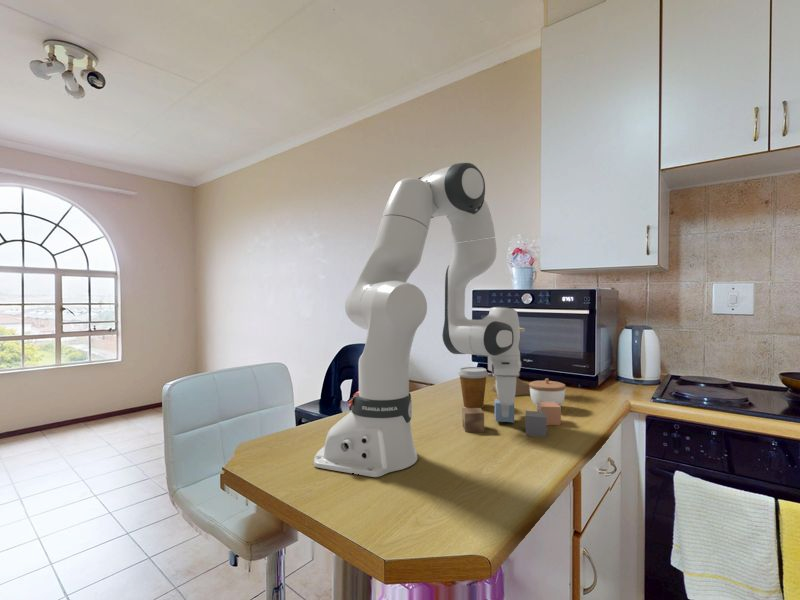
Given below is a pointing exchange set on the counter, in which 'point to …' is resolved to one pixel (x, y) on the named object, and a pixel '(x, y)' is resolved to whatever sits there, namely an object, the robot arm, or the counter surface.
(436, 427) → the counter surface
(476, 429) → the walnut cube
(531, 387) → the lidded jar
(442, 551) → the counter surface
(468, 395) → the disposable coffee cup
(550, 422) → the terracotta cube
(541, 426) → the charcoal cube
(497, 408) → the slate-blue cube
